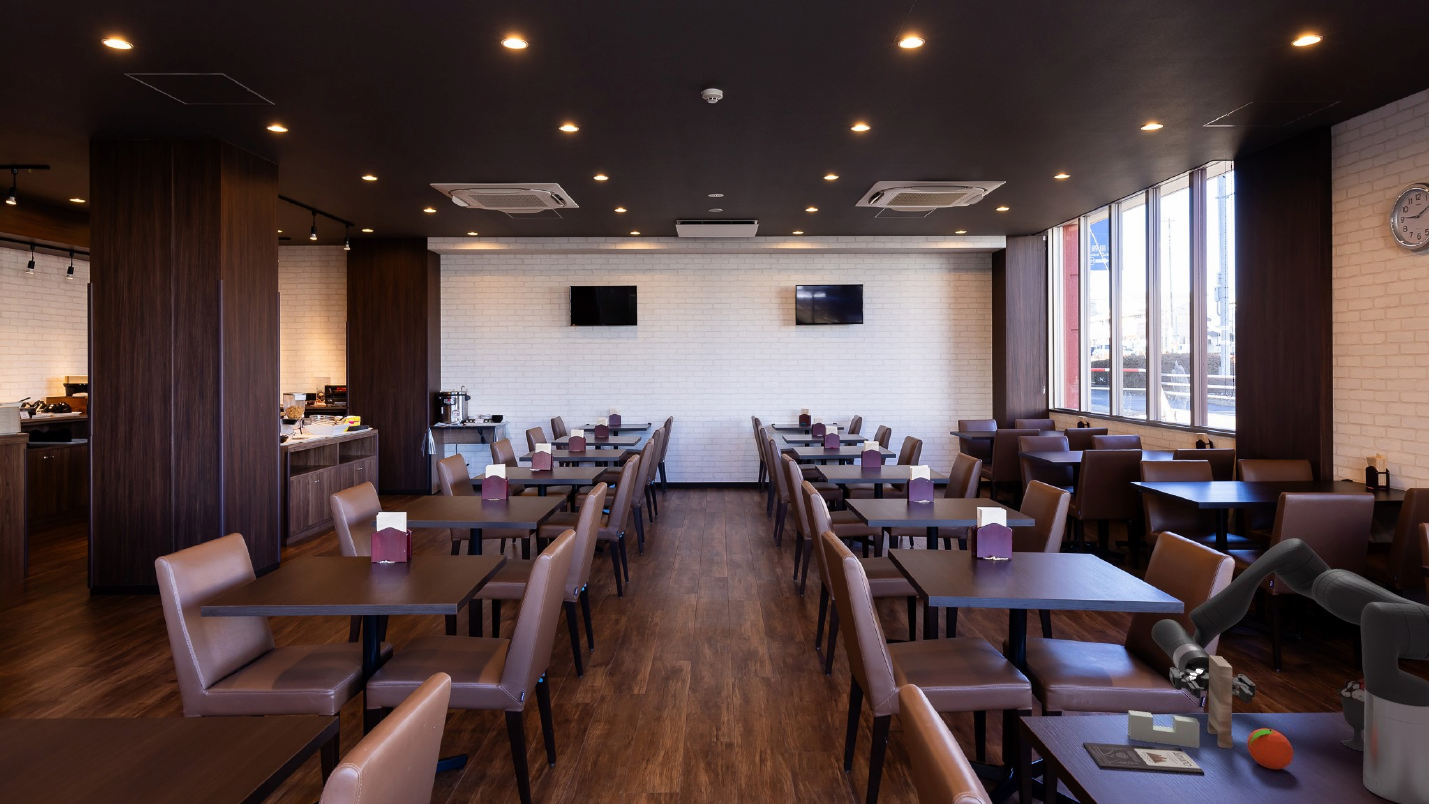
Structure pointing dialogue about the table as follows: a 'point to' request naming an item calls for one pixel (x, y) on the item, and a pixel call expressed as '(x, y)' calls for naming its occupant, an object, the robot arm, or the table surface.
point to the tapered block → (1220, 700)
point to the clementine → (1270, 748)
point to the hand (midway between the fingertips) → (1223, 696)
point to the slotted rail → (1163, 730)
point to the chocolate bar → (1142, 758)
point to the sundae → (1354, 710)
